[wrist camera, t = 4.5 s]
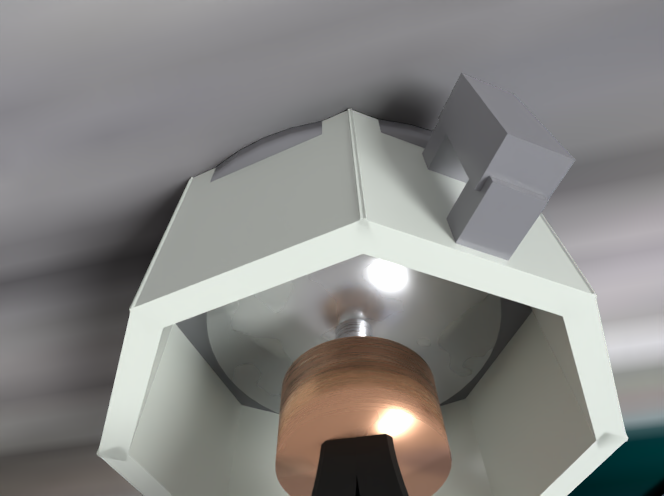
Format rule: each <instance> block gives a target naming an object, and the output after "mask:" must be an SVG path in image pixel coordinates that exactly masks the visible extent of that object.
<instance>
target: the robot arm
mask: <svg viewBox="0 0 664 496" xmlns="http://www.w3.org/2000/svg"><path fill="white" fill-rule="evenodd" d="M311 496H409V495H408V492H407V489H406V486H405V483H404V481H403V478H402V474H401V471H400V468H399V464H398V461H397V457H396V453H395V449H394V444H393V437H392V436H390V435H388V434H379V435H371V436H362V437H353V438H344V439H335V440H326V441H325V442H324V443H323V444H321V450H320V457H319V462H318V468H317V473H316V478H315V482H314V486H313V491H312V495H311ZM662 496H664V494H663V495H662Z"/></svg>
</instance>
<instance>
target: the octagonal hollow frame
mask: <svg viewBox="0 0 664 496" xmlns="http://www.w3.org/2000/svg"><path fill="white" fill-rule="evenodd" d="M438 119H439V121H438V123H437V125H436V127H435V129H434V131H430V130H426V129H423V128H420V127H416V126H413V125H410V124H404V123H398V122H391V121H385V120H378V119H375V118H372V117H370V116H367V115H364V114H362V113H359V112H356V111H354V110H352V109H348V110H347V111H345V112H342V113H340V114H338V115H335V116H333V117H331V118H329V119H326V120H324V121H320V122H316V123H311V124H307V125H302V126H298V127H293V128H290V129H287V130H284V131H281V132H279V133H276V134H273V135H270V136H268V137H265V138H263V139H261V140H259V141H257V142H255V143H253V144H251V145H249V146H247V147H245V148H244V149H242V150H240V151H238V152H237V153H235V154H234V155H232V156H231V157H230V158H228V159H227V160H225V161H224V162H223V163H221V164H220V165H218V166H217V167H216V168H214V169H212V170H209V171H207V172H205V173H203V174H200V175H198V176H196V177H191V179H189V181H188V183H187V185H186V188H185V190H184V192H183V194H182V196H181V198H180V200H179V203H178V205H177V207H176V209H175V211H174V213H173V216H172V218H171V220H170V222H169V224H168V226H167V228H166V231H165V233H164V235H163V237H162V239H161V241H160V244H159V246H158V248H157V250H156V252H155V254H154V256H153V259H152V261H151V263H150V265H149V267H148V269H147V272H146V274H145V276H144V278H143V280H142V282H141V284H140V287H139V289H138V291H137V293H136V295H135V297H134V300H133V302H132V304H131V306H130V308H129V310H130V316H129V320H128V324H127V329H126V333H125V337H124V342H123V346H122V351H121V355H120V359H119V364H118V368H117V372H116V377H115V381H114V386H113V390H112V394H111V399H110V403H109V407H108V412H107V416H106V420H105V425H104V429H103V434H102V438H101V442H100V445H99V448H98V450H97V453H96V454H98V455H97V456H100V457H101V458H102V459H103V460H104V461H105V462H107V463H108V464H109V465H110V466H111V467H112V468H113V469H114V470H116V471H117V472H118V473H119V474H120V475H121V476H122V477H123V478H125V479H126V480H127V481H128V482H129V483H130V484H131V485H132V486H134V487H135V488H136V489H137V490H138V491H139V492H140V493H141V494H143V495H144V496H290V495H289V494H288V493H287V492H286V491H285V490H284V489H283V488H282V486H281V485H280V483H279V481H278V479H277V475H276V471H275V461H276V449H277V437H278V425H279V413H276V412H274V411H272V410H270V409H268V408H266V407H264V406H262V405H261V404H259V403H258V402H256V401H255V400H253V399H252V398H250V397H249V396H247V395H246V394H245V393H244V392H243V391H241V390H240V389H239V388H238V387H237V386H236V385H235V384H234V383H233V382H232V381H231V380H230V379H229V378H228V376H227V375H226V374H225V372H224V371H223V369H222V368H221V366H220V365H219V363H218V361H217V359H216V357H215V355H214V353H213V351H212V348H211V344H210V341H209V338H208V330H207V311H210V310H213V309H215V308H218V307H221V306H224V305H226V304H229V303H232V302H234V301H237V300H240V299H242V298H245V297H248V296H251V295H253V294H256V293H259V292H261V291H264V290H267V289H269V288H272V287H275V286H277V285H280V284H283V283H286V282H288V281H291V280H294V279H296V278H299V277H302V276H304V275H307V274H310V273H313V272H315V271H318V270H321V269H323V268H326V267H329V266H331V265H334V264H337V263H339V262H342V261H345V260H348V259H350V258H353V257H356V256H358V255H361V254H365V255H369V256H372V257H375V258H378V259H381V260H385V261H388V262H391V263H394V264H397V265H401V266H404V267H407V268H410V269H413V270H417V271H420V272H423V273H426V274H429V275H433V276H436V277H439V278H442V279H445V280H449V281H452V282H455V283H458V284H461V285H464V286H468V287H471V288H474V289H477V290H480V291H484V292H487V293H490V294H493V295H496V296H500V299H501V323H500V330H499V334H498V337H497V341H496V344H495V346H494V348H493V350H492V352H491V355H490V357H489V358H488V360H487V361H486V363H485V364H484V366H483V367H482V369H481V370H480V371H479V372H478V373H477V375H476V376H475V377H474V378H473V379H472V380H471V381H470V382H469V383H468V384H467V385H466V386H465V387H464V388H462V389H461V390H460V391H459V392H457V393H456V394H455V395H453V396H452V397H451V398H449V399H448V400H446V401H444V402H443V403H441V404H440V408H441V412H442V417H443V421H444V426H445V430H446V434H447V439H448V443H449V448H450V452H451V458H452V463H451V470H450V473H449V475H448V477H447V479H446V481H445V482H444V484H443V485H442V486H441V487H440V489H439V490H438V491H437V492H436V493H434V494H433V495H432V496H567V495H568V494H569V493H570V492H571V491H572V490H574V489H575V488H576V487H577V486H578V485H579V484H580V483H581V482H582V481H583V480H584V479H585V478H586V477H588V476H589V475H590V474H591V473H592V472H593V471H594V470H595V469H596V468H597V467H598V466H599V465H600V464H601V463H603V462H604V461H605V460H606V459H607V458H608V457H609V456H610V455H611V454H612V453H613V452H614V451H615V450H617V449H618V448H619V447H620V446H621V445H622V444H623V443H624V442H625V441H627V439H628V437H627V435H626V432H625V428H624V423H623V419H622V414H621V410H620V405H619V401H618V396H617V391H616V387H615V382H614V378H613V373H612V369H611V364H610V360H609V355H608V351H607V346H606V342H605V337H604V332H603V328H602V323H601V319H600V314H599V310H598V305H597V301H596V297H597V294H596V293H595V291H594V290H593V288H592V287H591V285H590V284H589V282H588V281H587V280H586V278H585V277H584V275H583V274H582V272H581V271H580V269H579V268H578V266H577V265H576V263H575V262H574V260H573V259H572V257H571V256H570V254H569V253H568V251H567V250H566V248H565V247H564V245H563V244H562V243H561V241H560V240H559V238H558V237H557V235H556V234H555V232H554V231H553V229H552V228H551V226H550V225H549V223H548V222H547V220H546V219H545V217H544V216H543V214H542V213H541V212H542V211H543V209H544V208H545V206H546V205H547V204H548V199H549V198H550V196H551V195H552V194H553V192H554V191H555V189H556V188H557V186H558V185H559V183H560V182H561V180H562V179H563V177H564V176H565V174H566V173H567V172H568V170H569V169H570V167H571V166H572V164H573V163H574V161H575V159H574V158H573V157H572V156H571V154H570V153H569V152H568V151H567V150H566V149H565V148H564V147H563V146H562V145H561V144H560V143H559V142H558V141H557V140H556V138H555V137H554V136H553V135H552V134H551V133H550V132H549V131H548V130H547V129H546V128H545V127H544V126H543V125H542V123H541V122H540V121H539V120H538V119H537V118H536V117H535V116H534V115H533V114H532V113H531V112H530V111H529V110H528V109H527V107H526V106H525V105H524V104H523V103H522V102H521V101H520V100H519V99H518V98H517V97H516V96H515V95H514V94H513V93H510V92H508V91H505V90H503V89H501V88H498V87H496V86H493V85H491V84H488V83H486V82H483V81H481V80H478V79H476V78H473V77H471V76H469V75H466V74H464V73H461V75H460V77H459V79H458V81H457V83H456V85H455V87H454V88H453V90H452V92H451V94H450V96H449V98H448V100H447V102H446V104H445V106H444V108H443V110H442V112H441V114H440V116H439V118H438Z"/></svg>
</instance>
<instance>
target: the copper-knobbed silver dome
mask: <svg viewBox="0 0 664 496" xmlns="http://www.w3.org/2000/svg"><path fill="white" fill-rule="evenodd" d="M500 323H501V299H500V296H496V295H493V294H490V293H487V292H484V291H480V290H477V289H474V288H471V287H468V286H464V285H461V284H458V283H455V282H452V281H449V280H445V279H442V278H439V277H436V276H433V275H429V274H426V273H423V272H420V271H417V270H413V269H410V268H407V267H404V266H401V265H397V264H394V263H391V262H388V261H385V260H381V259H378V258H375V257H372V256H369V255H365V254H361V255H358V256H356V257H353V258H350V259H348V260H345V261H342V262H339V263H337V264H334V265H331V266H329V267H326V268H323V269H321V270H318V271H315V272H313V273H310V274H307V275H304V276H302V277H299V278H296V279H294V280H291V281H288V282H286V283H283V284H280V285H277V286H275V287H272V288H269V289H267V290H264V291H261V292H259V293H256V294H253V295H251V296H248V297H245V298H242V299H240V300H237V301H234V302H232V303H229V304H226V305H224V306H221V307H218V308H215V309H213V310H210V311H207V330H208V338H209V341H210V344H211V348H212V351H213V353H214V355H215V357H216V359H217V361H218V363H219V365H220V366H221V368H222V369H223V371H224V372H225V374H226V375H227V376H228V378H229V379H230V380H231V381H232V382H233V383H234V384H235V385H236V386H237V387H238V388H239V389H240V390H241V391H243V392H244V393H245V394H246V395H247V396H249V397H250V398H252V399H253V400H255V401H256V402H258V403H259V404H261V405H262V406H264V407H266V408H268V409H270V410H272V411H274V412H276V413H279V425H278V437H277V449H276V461H275V471H276V475H277V479H278V481H279V483H280V485H281V486H282V488H283V489H284V490H285V491H286V492H287V493H288V494H289V495H290V496H311V495H312V491H313V486H314V482H315V478H316V473H317V468H318V462H319V457H320V450H321V444H323V443H324V442H325V441H326V440H335V439H344V438H353V437H362V436H371V435H379V434H388V435H390V436H392V437H393V444H394V449H395V453H396V457H397V461H398V464H399V468H400V471H401V474H402V478H403V481H404V483H405V486H406V489H407V492H408V495H409V496H432V495H433V494H434V493H436V492H437V491H438V490H439V489H440V487H441V486H442V485H443V484H444V482H445V481H446V479H447V477H448V475H449V473H450V470H451V463H452V458H451V452H450V448H449V443H448V439H447V434H446V430H445V426H444V421H443V417H442V412H441V408H440V404H441V403H443V402H444V401H446V400H448V399H449V398H451V397H452V396H453V395H455V394H456V393H457V392H459V391H460V390H461V389H462V388H464V387H465V386H466V385H467V384H468V383H469V382H470V381H471V380H472V379H473V378H474V377H475V376H476V375H477V373H478V372H479V371H480V370H481V369H482V367H483V366H484V364H485V363H486V361H487V360H488V358H489V357H490V355H491V352H492V350H493V348H494V346H495V344H496V341H497V337H498V334H499V330H500Z"/></svg>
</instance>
